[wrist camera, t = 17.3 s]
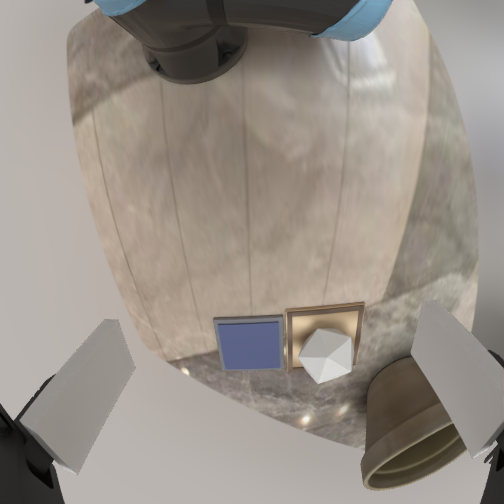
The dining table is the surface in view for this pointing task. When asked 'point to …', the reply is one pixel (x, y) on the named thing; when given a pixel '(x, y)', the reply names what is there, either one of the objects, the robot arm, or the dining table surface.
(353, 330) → the board
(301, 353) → the die
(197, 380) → the dining table surface
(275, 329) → the ink pad
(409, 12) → the dining table surface
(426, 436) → the plant pot
